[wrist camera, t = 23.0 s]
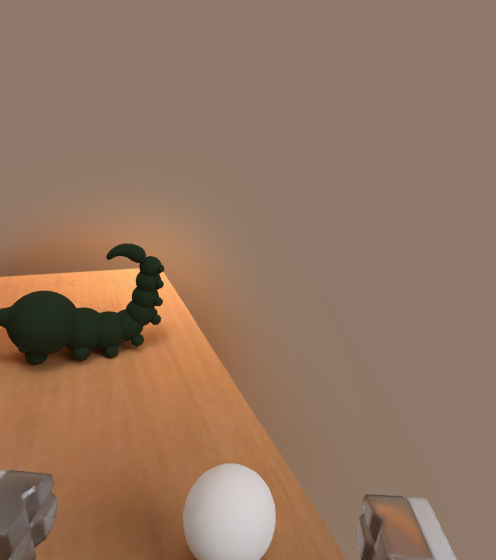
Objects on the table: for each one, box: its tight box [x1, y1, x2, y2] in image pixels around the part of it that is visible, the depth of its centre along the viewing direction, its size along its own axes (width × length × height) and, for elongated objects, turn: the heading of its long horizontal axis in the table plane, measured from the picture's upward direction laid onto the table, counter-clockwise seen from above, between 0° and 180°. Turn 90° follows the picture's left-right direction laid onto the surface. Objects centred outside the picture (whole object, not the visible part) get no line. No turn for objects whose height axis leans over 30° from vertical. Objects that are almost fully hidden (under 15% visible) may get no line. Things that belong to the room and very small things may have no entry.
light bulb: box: [183, 464, 276, 560], centre depth 27 cm, size 7×7×11 cm
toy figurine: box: [0, 244, 164, 365], centre depth 56 cm, size 9×19×25 cm
